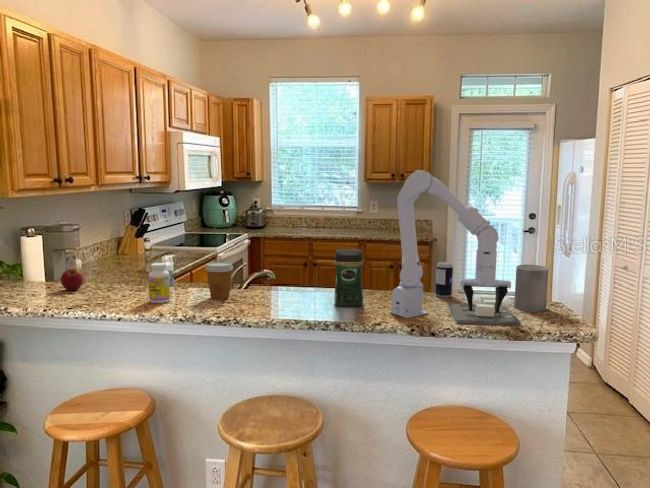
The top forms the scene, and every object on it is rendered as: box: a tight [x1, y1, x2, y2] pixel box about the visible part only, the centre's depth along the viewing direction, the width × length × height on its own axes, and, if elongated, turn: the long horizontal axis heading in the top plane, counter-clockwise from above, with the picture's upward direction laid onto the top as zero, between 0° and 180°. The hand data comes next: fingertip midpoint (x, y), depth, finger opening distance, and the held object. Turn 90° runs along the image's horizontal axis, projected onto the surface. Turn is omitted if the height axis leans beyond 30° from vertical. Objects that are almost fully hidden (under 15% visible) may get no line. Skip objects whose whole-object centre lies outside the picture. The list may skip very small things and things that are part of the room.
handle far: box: [479, 294, 496, 304], centre depth 158 cm, size 5×2×3 cm, turn 83°
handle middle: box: [483, 300, 503, 312], centre depth 152 cm, size 5×2×3 cm, turn 83°
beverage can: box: [435, 261, 454, 298], centre depth 175 cm, size 6×6×12 cm
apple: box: [60, 268, 85, 291], centre depth 180 cm, size 8×8×8 cm
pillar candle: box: [513, 262, 549, 313], centre depth 159 cm, size 10×10×15 cm
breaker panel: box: [447, 303, 522, 327], centre depth 151 cm, size 18×19×1 cm
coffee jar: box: [333, 248, 364, 308], centre depth 162 cm, size 10×8×19 cm
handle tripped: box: [475, 303, 495, 317], centre depth 147 cm, size 5×2×3 cm, turn 83°
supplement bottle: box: [148, 262, 171, 304], centre depth 165 cm, size 7×7×13 cm
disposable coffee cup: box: [205, 261, 234, 300], centre depth 170 cm, size 10×10×12 cm
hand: (483, 310), depth 147 cm, fingers open, 7 cm apart
